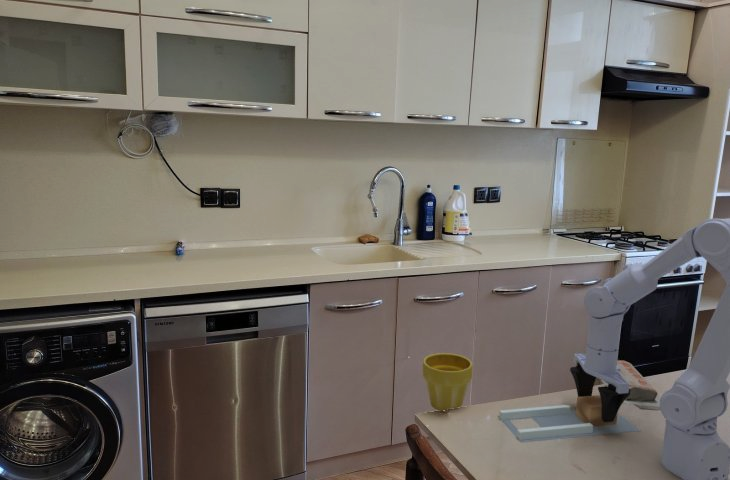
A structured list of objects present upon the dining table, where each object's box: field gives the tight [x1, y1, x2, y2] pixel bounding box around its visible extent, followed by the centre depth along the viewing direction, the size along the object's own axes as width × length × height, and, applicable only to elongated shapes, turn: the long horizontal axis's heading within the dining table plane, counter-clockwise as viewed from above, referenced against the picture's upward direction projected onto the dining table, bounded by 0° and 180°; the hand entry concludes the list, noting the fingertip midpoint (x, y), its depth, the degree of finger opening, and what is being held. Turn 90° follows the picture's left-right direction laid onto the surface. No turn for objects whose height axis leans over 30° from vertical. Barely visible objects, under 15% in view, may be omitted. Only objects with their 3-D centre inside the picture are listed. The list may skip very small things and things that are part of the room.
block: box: [575, 394, 619, 426], centre depth 107 cm, size 4×6×4 cm
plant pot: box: [422, 352, 474, 413], centre depth 113 cm, size 10×10×10 cm
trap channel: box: [497, 404, 642, 443], centre depth 106 cm, size 10×25×2 cm, turn 102°
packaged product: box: [596, 359, 661, 411], centre depth 123 cm, size 18×5×10 cm
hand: (595, 411), depth 107 cm, fingers open, 7 cm apart
